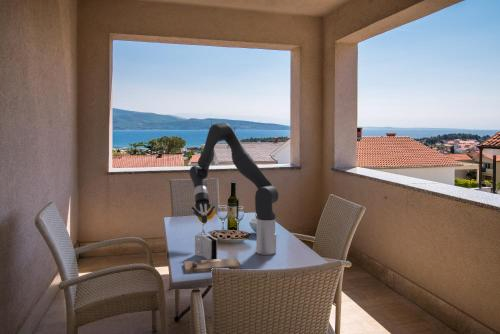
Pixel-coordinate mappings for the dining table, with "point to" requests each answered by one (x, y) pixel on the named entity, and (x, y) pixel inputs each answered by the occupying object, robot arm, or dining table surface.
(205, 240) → the hinge
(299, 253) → the dining table surface
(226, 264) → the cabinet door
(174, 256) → the dining table surface
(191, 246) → the dining table surface
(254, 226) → the chinaware
